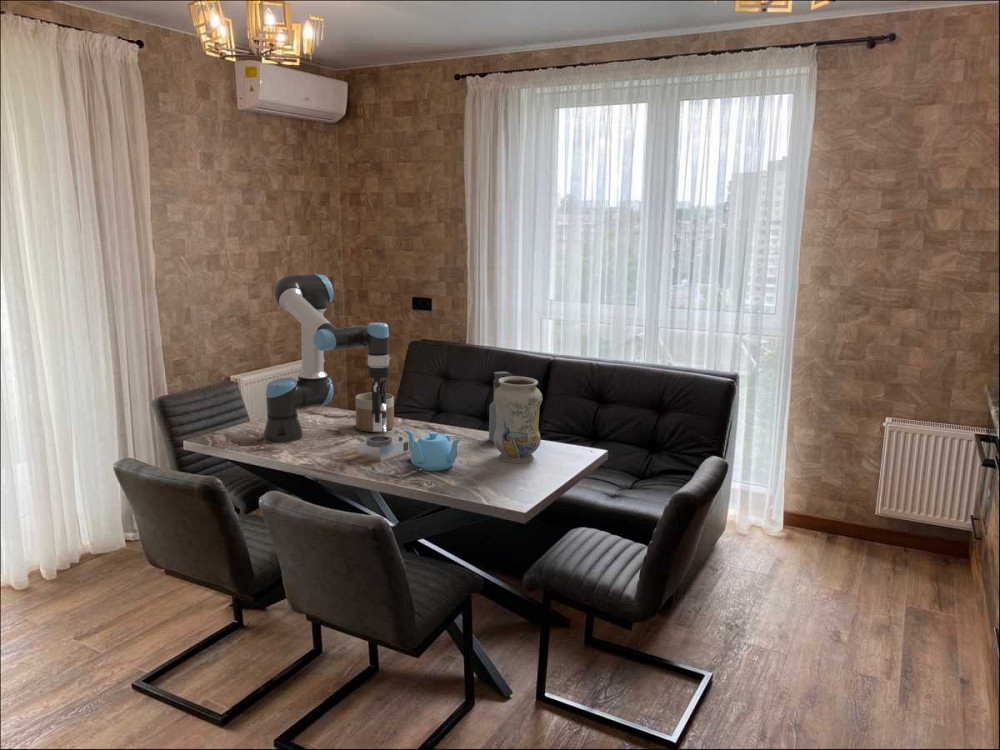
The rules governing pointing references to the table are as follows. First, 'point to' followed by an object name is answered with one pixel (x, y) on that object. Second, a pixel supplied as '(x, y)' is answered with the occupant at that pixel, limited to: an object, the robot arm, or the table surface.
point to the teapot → (432, 451)
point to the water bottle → (492, 406)
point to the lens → (384, 418)
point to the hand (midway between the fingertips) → (379, 428)
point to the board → (354, 457)
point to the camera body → (382, 447)
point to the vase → (517, 418)
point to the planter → (365, 408)
